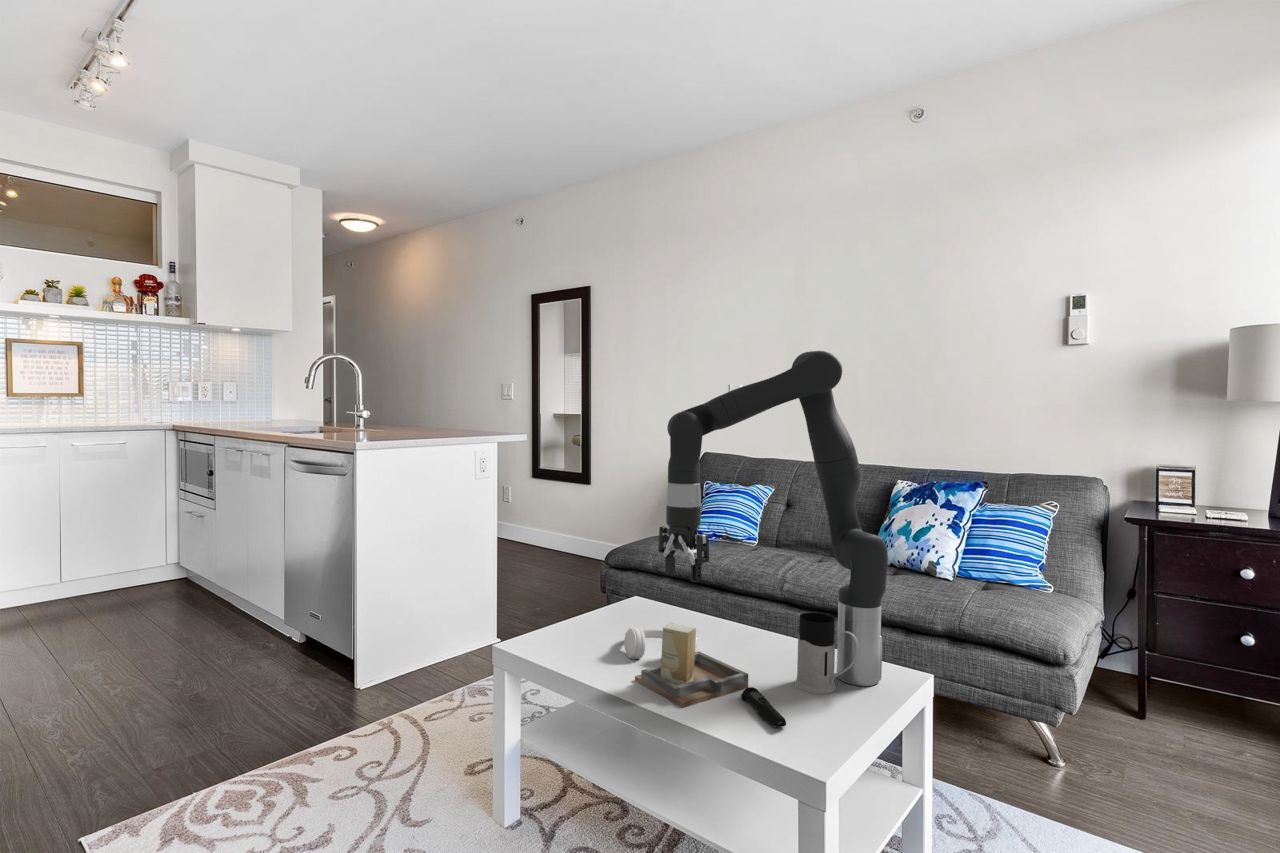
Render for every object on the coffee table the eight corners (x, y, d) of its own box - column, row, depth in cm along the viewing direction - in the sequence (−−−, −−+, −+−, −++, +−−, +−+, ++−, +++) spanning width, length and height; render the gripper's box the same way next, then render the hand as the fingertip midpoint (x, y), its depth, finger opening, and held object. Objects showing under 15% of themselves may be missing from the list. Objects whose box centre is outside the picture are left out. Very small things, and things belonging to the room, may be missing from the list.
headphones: (693, 635, 156) (700, 623, 175) (616, 628, 159) (632, 617, 179) (692, 667, 155) (699, 651, 174) (614, 660, 158) (630, 645, 178)
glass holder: (809, 674, 153) (811, 609, 153) (866, 694, 142) (868, 624, 142) (786, 684, 147) (788, 616, 147) (844, 705, 137) (846, 632, 136)
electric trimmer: (772, 735, 124) (772, 718, 124) (739, 699, 139) (739, 684, 139) (790, 733, 125) (791, 716, 125) (756, 698, 140) (756, 683, 140)
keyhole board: (698, 663, 158) (698, 651, 158) (748, 687, 145) (748, 673, 145) (635, 680, 147) (635, 666, 147) (682, 707, 134) (682, 692, 134)
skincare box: (659, 683, 143) (660, 627, 143) (668, 677, 147) (669, 621, 147) (687, 690, 140) (688, 632, 140) (695, 683, 144) (696, 626, 144)
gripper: (718, 506, 142) (717, 582, 142) (676, 498, 153) (675, 569, 154) (692, 508, 138) (691, 587, 138) (650, 501, 149) (649, 573, 149)
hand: (682, 577), depth 146 cm, fingers open, 8 cm apart
